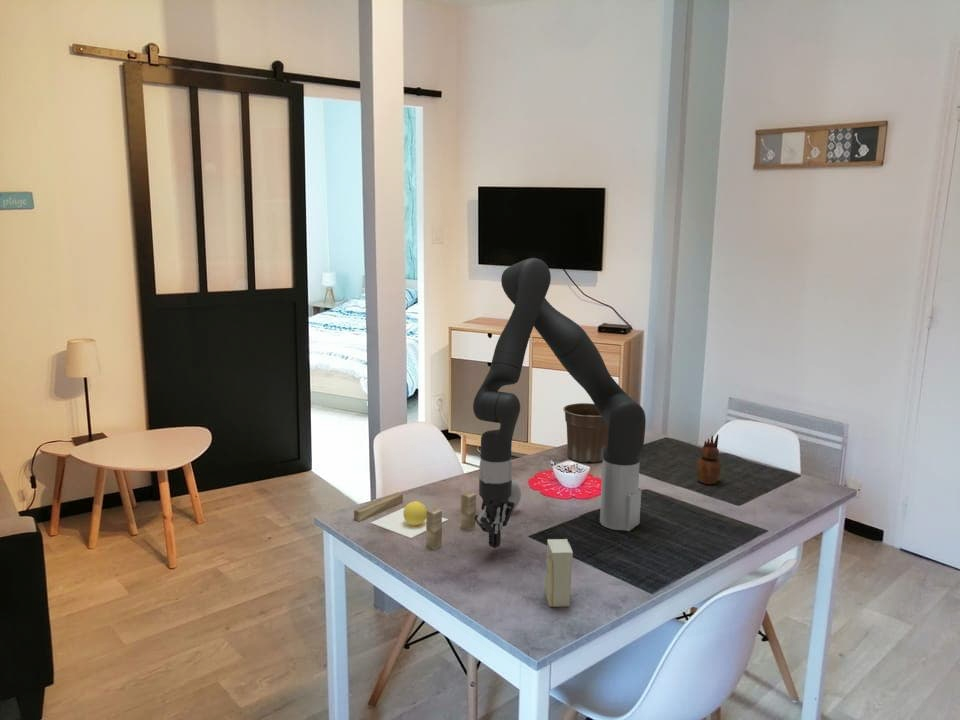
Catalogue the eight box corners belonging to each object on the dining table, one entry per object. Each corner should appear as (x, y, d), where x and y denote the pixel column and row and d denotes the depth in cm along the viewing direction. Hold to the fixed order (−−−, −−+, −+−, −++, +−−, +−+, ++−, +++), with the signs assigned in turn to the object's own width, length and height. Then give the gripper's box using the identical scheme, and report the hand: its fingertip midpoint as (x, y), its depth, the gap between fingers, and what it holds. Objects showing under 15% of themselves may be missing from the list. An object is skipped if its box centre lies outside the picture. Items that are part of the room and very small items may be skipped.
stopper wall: (402, 502, 204) (402, 493, 204) (359, 521, 192) (359, 512, 191) (397, 500, 205) (397, 492, 205) (354, 519, 193) (353, 510, 192)
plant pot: (576, 446, 254) (578, 399, 250) (620, 455, 245) (623, 407, 241) (552, 458, 241) (554, 410, 237) (598, 469, 232) (600, 419, 228)
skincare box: (544, 592, 158) (546, 538, 156) (565, 591, 158) (567, 538, 156) (549, 608, 152) (551, 552, 149) (571, 607, 152) (573, 551, 150)
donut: (491, 520, 193) (492, 484, 191) (484, 516, 196) (484, 480, 194) (523, 512, 198) (524, 477, 196) (515, 508, 201) (516, 473, 199)
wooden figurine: (721, 481, 222) (725, 433, 219) (716, 487, 218) (720, 438, 214) (698, 477, 226) (702, 429, 223) (693, 483, 221) (696, 434, 218)
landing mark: (448, 520, 193) (448, 519, 193) (411, 538, 182) (411, 537, 182) (408, 506, 202) (408, 505, 202) (370, 523, 191) (370, 522, 191)
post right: (475, 527, 189) (476, 494, 187) (469, 531, 187) (469, 497, 185) (467, 524, 190) (467, 491, 189) (461, 528, 188) (461, 494, 187)
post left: (441, 545, 179) (441, 510, 177) (434, 549, 177) (434, 513, 175) (433, 542, 180) (433, 507, 178) (426, 546, 178) (426, 511, 176)
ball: (420, 493, 192) (409, 508, 195) (406, 500, 187) (394, 515, 190) (435, 511, 190) (424, 525, 193) (421, 518, 185) (409, 533, 188)
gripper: (499, 465, 179) (498, 532, 183) (464, 480, 169) (464, 551, 173) (525, 472, 175) (523, 541, 178) (491, 488, 165) (490, 561, 168)
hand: (494, 546), depth 176 cm, fingers closed
